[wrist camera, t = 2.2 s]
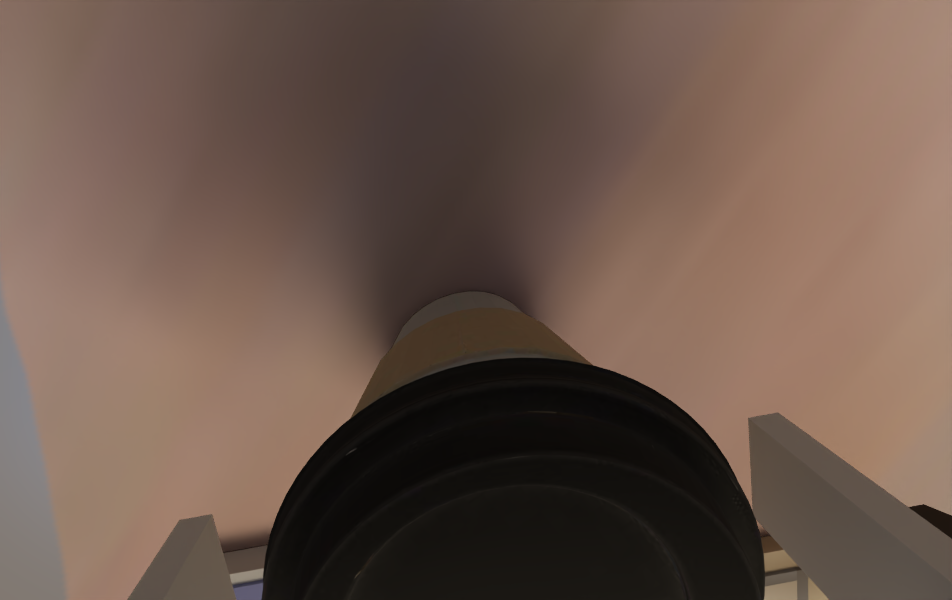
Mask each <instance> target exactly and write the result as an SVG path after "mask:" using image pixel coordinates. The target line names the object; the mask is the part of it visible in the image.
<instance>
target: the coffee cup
mask: <svg viewBox="0 0 952 600" xmlns="http://www.w3.org/2000/svg"><path fill="white" fill-rule="evenodd" d="M764 596H765V564H764V553H763V547H762V542H761V536H760V533H759V529H758V526H757V522H756V519H755V516H754V514H753V511H752V509H751V506H750V504H749V501H748V499H747V498H746V496H745V494H744V492H743V490H742V488H741V486H740V484H739V483H738V481H737V478H736V476H735V474H734V472H733V471H732V469H731V467H730V465H729V463H728V461H727V459H726V458H725V456H724V455H723V453H722V452H721V451H720V449H719V448H718V446H717V445H716V443H715V442H714V441H713V440H712V439H711V437H710V436H709V435H708V434H707V433H706V431H705V430H704V429H703V428H702V427H701V426H700V425H699V424H698V423H697V422H696V421H695V420H694V419H693V418H692V417H691V416H690V415H689V414H687V413H686V412H685V411H684V410H682V409H681V408H680V407H679V406H677V405H676V404H675V403H673V402H672V401H671V400H669V399H668V398H666V397H664V396H663V395H661V394H660V393H658V392H657V391H655V390H653V389H652V388H650V387H648V386H646V385H644V384H642V383H640V382H638V381H636V380H634V379H631V378H629V377H626V376H624V375H621V374H619V373H616V372H614V371H610V370H607V369H603V368H600V367H597V366H593V365H592V364H591V363H590V362H588V361H587V360H586V359H585V358H584V357H582V356H581V355H580V354H579V353H578V352H576V351H575V350H574V349H573V348H572V347H570V346H569V345H568V344H567V343H566V342H564V341H563V340H562V339H561V338H560V337H558V336H557V335H556V334H555V333H554V332H552V331H551V330H550V329H549V328H548V327H546V326H545V325H544V324H543V323H541V322H539V321H537V320H535V319H534V318H532V317H530V316H528V315H526V314H524V313H523V312H522V311H520V310H519V309H518V308H517V307H516V306H515V305H513V304H512V303H511V302H509V301H507V300H506V299H504V298H502V297H500V296H498V295H494V294H490V293H486V292H474V291H467V292H461V293H455V294H451V295H448V296H445V297H442V298H439V299H437V300H435V301H433V302H432V303H430V304H428V305H426V306H424V307H423V308H422V309H420V310H419V311H418V312H417V313H415V314H414V315H413V316H412V317H411V318H410V319H409V321H408V322H407V323H406V324H405V325H404V326H403V328H402V330H401V331H400V333H399V335H398V337H397V339H396V341H395V343H394V345H393V347H392V348H391V350H390V351H389V352H388V353H387V354H386V355H385V356H384V357H383V359H382V360H381V361H380V363H379V365H378V367H377V369H376V370H375V372H374V374H373V376H372V378H371V380H370V382H369V384H368V385H367V387H366V389H365V391H364V393H363V395H362V397H361V399H360V401H359V403H358V405H357V407H356V409H355V411H354V413H353V415H352V417H351V418H350V419H349V420H348V421H347V422H346V423H344V424H343V425H342V426H341V427H340V428H339V429H338V430H337V431H335V432H334V433H333V434H332V435H331V436H330V437H329V438H328V439H327V440H326V441H325V442H324V443H323V444H322V445H321V447H320V448H319V449H318V450H317V451H316V452H315V453H314V455H313V456H312V457H311V458H310V459H309V461H308V462H307V463H306V465H305V466H304V468H303V469H302V470H301V472H300V473H299V474H298V476H297V477H296V479H295V481H294V482H293V484H292V486H291V487H290V489H289V491H288V493H287V494H286V496H285V498H284V500H283V503H282V505H281V507H280V509H279V511H278V513H277V516H276V519H275V522H274V525H273V528H272V531H271V534H270V537H269V542H268V546H267V550H266V555H265V563H264V571H263V591H262V599H261V600H764Z"/></svg>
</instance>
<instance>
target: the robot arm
mask: <svg viewBox="0 0 952 600" xmlns="http://www.w3.org/2000/svg"><path fill="white" fill-rule="evenodd" d="M748 424H749V444H750V465H751V486H752V507H753V514H754V516H755V519H756V520H757V521H758V522H759V523H760V524H761V525H762V527H763V528H764V529H765V530H766V531H767V532H768V533H769V534H770V535H771V536H772V538H773V539H774V540H775V541H776V542H777V543H778V544H779V545H780V546H781V547H782V548H783V550H784V551H785V552H786V553H787V554H788V555H789V556H790V557H791V558H792V559H793V560H794V562H795V563H796V564H797V565H798V566H799V567H800V568H801V569H802V570H803V571H804V573H805V574H806V575H807V576H808V577H809V578H810V579H811V580H812V581H813V582H814V583H815V585H816V586H817V587H818V588H819V589H820V590H821V591H822V592H823V593H824V594H825V595H826V597H827V598H828V599H829V600H952V516H951V515H949V514H946V513H944V512H941V511H939V510H936V509H934V508H931V507H929V506H927V505H924V504H923V505H918V506H913V507H907V506H906V505H905V504H903V503H902V502H900V501H899V500H898V499H896V498H895V497H894V496H892V495H891V494H889V493H888V492H887V491H885V490H884V489H883V488H881V487H880V486H878V485H877V484H876V483H874V482H873V481H872V480H870V479H869V478H867V477H866V476H865V475H863V474H862V473H861V472H859V471H858V470H856V469H855V468H854V467H852V466H851V465H850V464H848V463H847V462H845V461H844V460H843V459H841V458H840V457H839V456H837V455H836V454H834V453H833V452H832V451H830V450H829V449H828V448H826V447H825V446H823V445H822V444H821V443H819V442H818V441H817V440H815V439H814V438H812V437H811V436H810V435H808V434H807V433H806V432H804V431H803V430H801V429H800V428H799V427H797V426H796V425H795V424H793V423H792V422H790V421H789V420H788V419H786V418H785V417H784V416H782V415H781V414H779V413H773V414H767V415H762V416H756V417H751V418H748ZM128 600H236V597H235V593H234V589H233V586H232V582H231V579H230V575H229V572H228V568H227V565H226V561H225V558H224V554H223V551H222V547H221V544H220V540H219V536H218V533H217V529H216V526H215V522H214V519H213V515H212V514H211V515H205V516H199V517H194V518H188V519H183V520H179V522H178V523H177V525H176V526H175V528H174V529H173V531H172V532H171V534H170V535H169V537H168V538H167V540H166V541H165V543H164V545H163V546H162V548H161V549H160V551H159V552H158V554H157V555H156V557H155V558H154V560H153V561H152V563H151V564H150V566H149V567H148V569H147V570H146V572H145V574H144V575H143V577H142V578H141V580H140V581H139V583H138V584H137V586H136V587H135V589H134V590H133V592H132V593H131V595H130V596H129V598H128Z"/></svg>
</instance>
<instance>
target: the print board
mask: <svg viewBox="0 0 952 600" xmlns="http://www.w3.org/2000/svg"><path fill="white" fill-rule="evenodd" d="M761 542H762V547H763V553H764V564H765V596H764V600H828V598H827V597H826V595H825V594H824V593H823V592H822V591H821V590H820V589H819V588H818V587H817V586H816V585H815V583H814V582H813V581H812V580H811V579H810V578H809V577H808V576H807V575H806V574H805V573H804V571H803V570H802V569H801V568H800V567H799V566H798V565H797V564H796V563H795V562H794V560H793V559H792V558H791V557H790V556H789V555H788V554H787V553H786V552H785V551H784V550H783V548H782V547H781V546H780V545H779V544H778V543H777V542H776V541H775V540H774V539H773V538H772V536H766V537H761Z"/></svg>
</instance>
